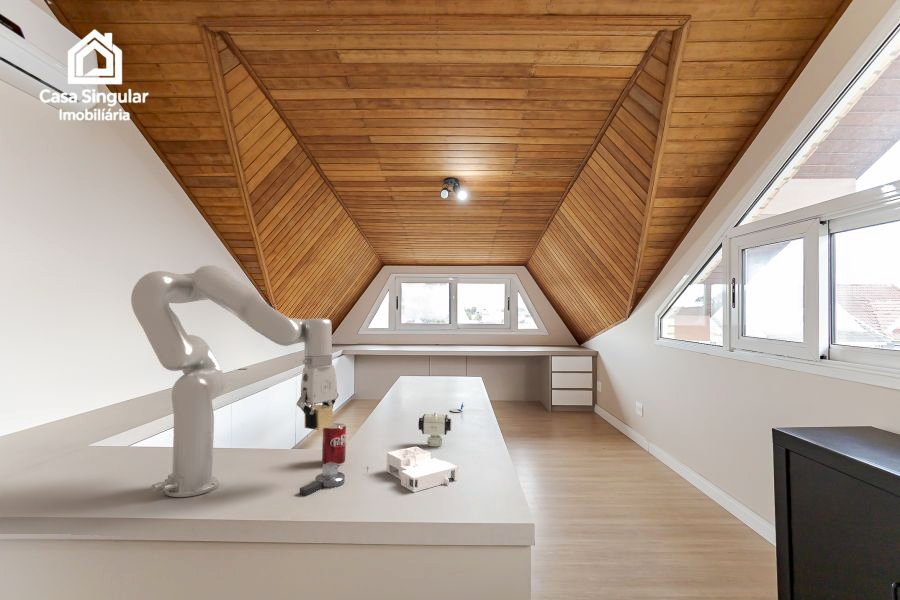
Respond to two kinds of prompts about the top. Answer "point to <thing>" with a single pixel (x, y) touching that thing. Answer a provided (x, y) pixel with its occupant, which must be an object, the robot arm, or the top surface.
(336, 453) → the soda can
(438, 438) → the pneumatic valve
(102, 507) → the top surface
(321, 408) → the tan wooden cube
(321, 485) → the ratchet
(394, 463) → the house
